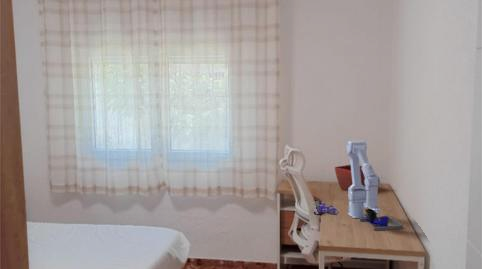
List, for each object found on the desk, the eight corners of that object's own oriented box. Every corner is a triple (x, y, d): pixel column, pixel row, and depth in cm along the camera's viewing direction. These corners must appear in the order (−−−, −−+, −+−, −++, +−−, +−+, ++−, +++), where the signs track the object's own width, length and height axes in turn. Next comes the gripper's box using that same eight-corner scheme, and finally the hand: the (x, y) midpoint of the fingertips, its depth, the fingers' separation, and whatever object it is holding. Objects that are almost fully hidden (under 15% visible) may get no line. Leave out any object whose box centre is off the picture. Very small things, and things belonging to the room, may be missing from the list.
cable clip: (367, 222, 227) (367, 211, 227) (374, 221, 228) (374, 210, 228) (380, 228, 216) (380, 217, 215) (387, 227, 217) (387, 216, 216)
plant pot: (352, 194, 290) (352, 170, 288) (334, 189, 306) (334, 167, 305) (371, 190, 299) (371, 167, 298) (352, 185, 316) (352, 164, 314)
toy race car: (338, 215, 241) (338, 204, 241) (312, 214, 243) (312, 204, 243) (336, 210, 251) (336, 200, 250) (312, 210, 253) (312, 199, 252)
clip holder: (359, 220, 228) (359, 217, 228) (386, 218, 231) (386, 215, 231) (374, 230, 212) (374, 226, 212) (402, 228, 215) (402, 224, 215)
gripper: (358, 195, 226) (358, 219, 227) (371, 202, 212) (371, 227, 213) (370, 194, 227) (370, 218, 228) (384, 201, 213) (383, 226, 214)
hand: (371, 222), depth 221 cm, fingers closed
